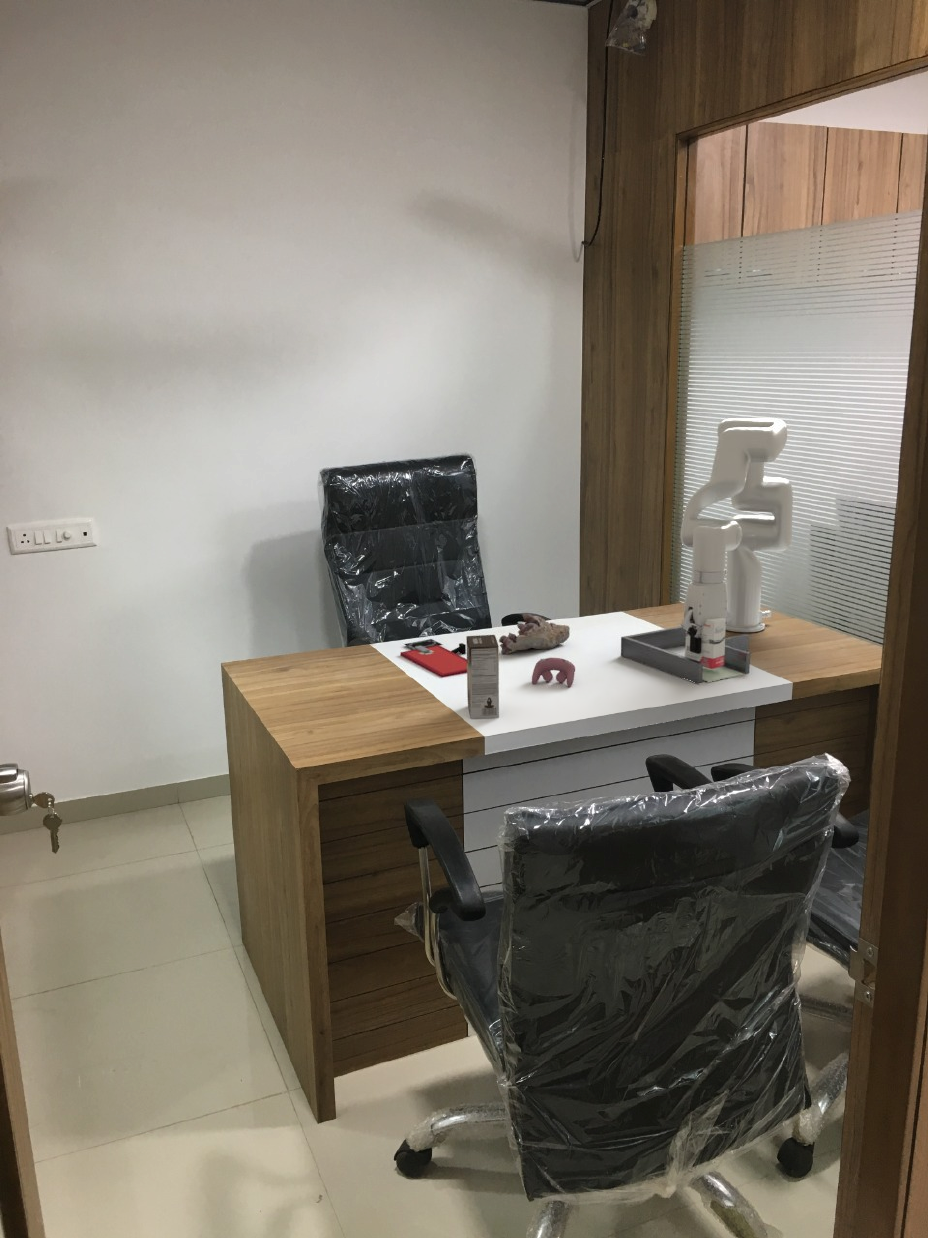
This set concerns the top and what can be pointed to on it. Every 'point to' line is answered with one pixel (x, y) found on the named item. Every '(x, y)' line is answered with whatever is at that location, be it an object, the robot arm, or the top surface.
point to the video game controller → (557, 664)
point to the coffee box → (483, 676)
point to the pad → (718, 673)
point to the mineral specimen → (534, 635)
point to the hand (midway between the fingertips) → (704, 649)
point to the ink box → (710, 644)
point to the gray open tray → (652, 654)
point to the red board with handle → (437, 657)
